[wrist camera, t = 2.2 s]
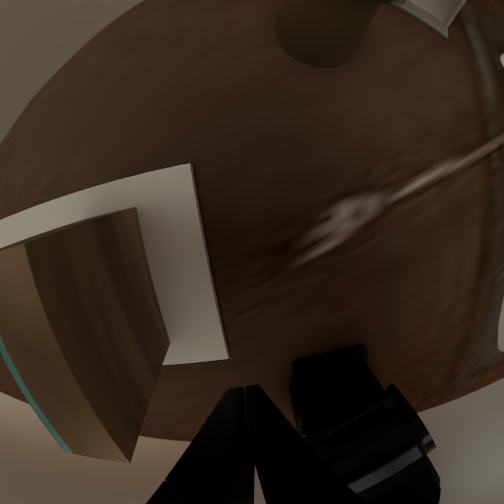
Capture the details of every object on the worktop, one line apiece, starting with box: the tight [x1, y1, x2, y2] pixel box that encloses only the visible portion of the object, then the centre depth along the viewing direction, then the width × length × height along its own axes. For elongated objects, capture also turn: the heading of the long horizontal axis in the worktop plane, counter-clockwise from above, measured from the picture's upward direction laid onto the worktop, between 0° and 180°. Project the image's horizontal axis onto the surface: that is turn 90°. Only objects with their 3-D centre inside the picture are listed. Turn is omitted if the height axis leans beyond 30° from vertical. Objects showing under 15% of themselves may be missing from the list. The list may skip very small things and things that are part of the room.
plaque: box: [0, 207, 170, 463], centre depth 13 cm, size 4×10×11 cm, turn 9°
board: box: [0, 163, 229, 365], centre depth 19 cm, size 22×14×1 cm, turn 99°
